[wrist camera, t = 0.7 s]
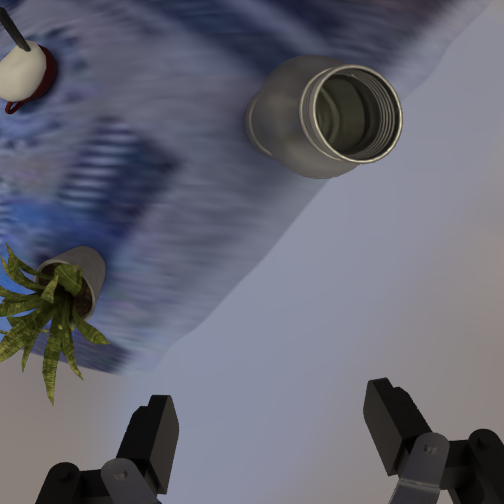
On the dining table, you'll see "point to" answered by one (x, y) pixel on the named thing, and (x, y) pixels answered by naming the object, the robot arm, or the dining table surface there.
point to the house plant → (53, 306)
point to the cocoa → (24, 68)
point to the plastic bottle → (324, 116)
